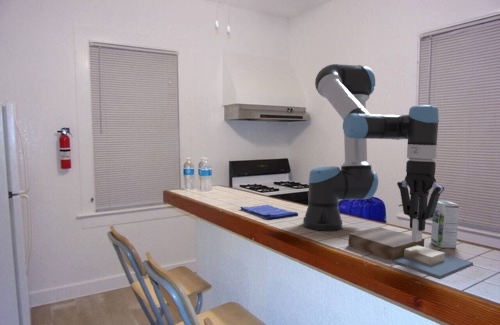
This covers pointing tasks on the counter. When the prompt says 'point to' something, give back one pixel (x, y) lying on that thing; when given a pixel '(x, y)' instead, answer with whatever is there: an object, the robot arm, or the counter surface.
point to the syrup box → (445, 224)
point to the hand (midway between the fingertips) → (416, 240)
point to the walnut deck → (383, 242)
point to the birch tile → (424, 254)
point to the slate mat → (435, 265)
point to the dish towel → (269, 212)
